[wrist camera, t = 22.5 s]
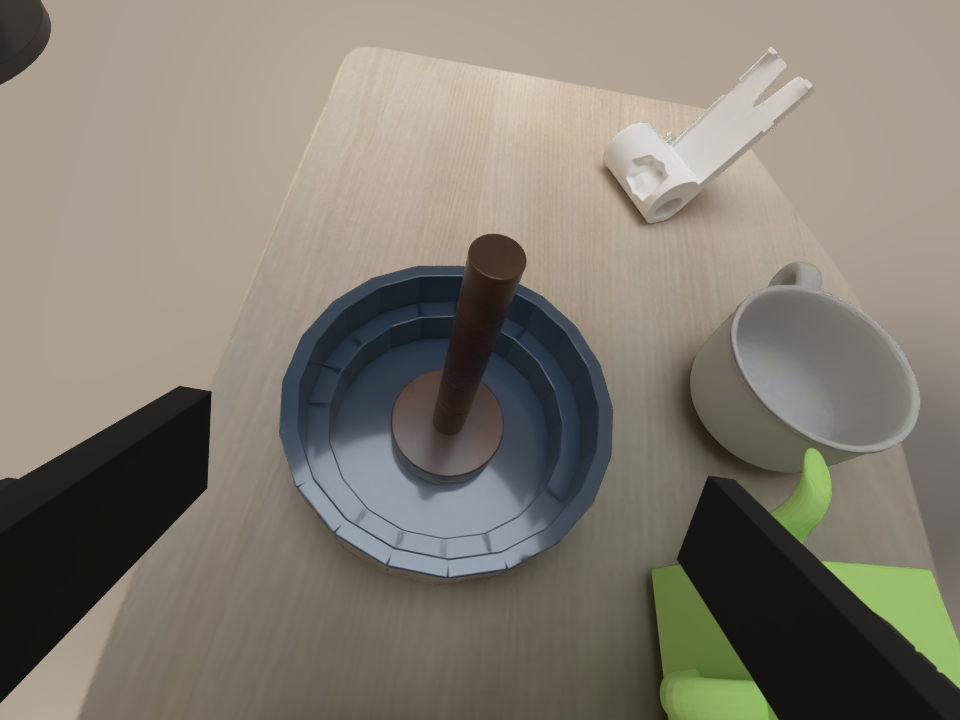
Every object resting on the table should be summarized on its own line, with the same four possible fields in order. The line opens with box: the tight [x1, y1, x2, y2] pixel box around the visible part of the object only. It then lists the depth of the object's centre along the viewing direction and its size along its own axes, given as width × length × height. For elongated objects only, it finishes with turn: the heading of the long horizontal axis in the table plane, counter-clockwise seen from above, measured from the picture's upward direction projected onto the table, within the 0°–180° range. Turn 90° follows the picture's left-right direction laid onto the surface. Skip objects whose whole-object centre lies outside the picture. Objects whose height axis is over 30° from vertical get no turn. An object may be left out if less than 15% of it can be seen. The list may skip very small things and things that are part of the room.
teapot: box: [651, 448, 960, 720], centre depth 20 cm, size 15×13×11 cm
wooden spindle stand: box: [391, 234, 526, 485], centre depth 21 cm, size 6×6×16 cm
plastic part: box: [604, 47, 815, 223], centre depth 38 cm, size 8×10×12 cm
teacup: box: [690, 262, 920, 472], centre depth 31 cm, size 14×11×8 cm
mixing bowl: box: [279, 266, 613, 585], centre depth 26 cm, size 17×17×6 cm
